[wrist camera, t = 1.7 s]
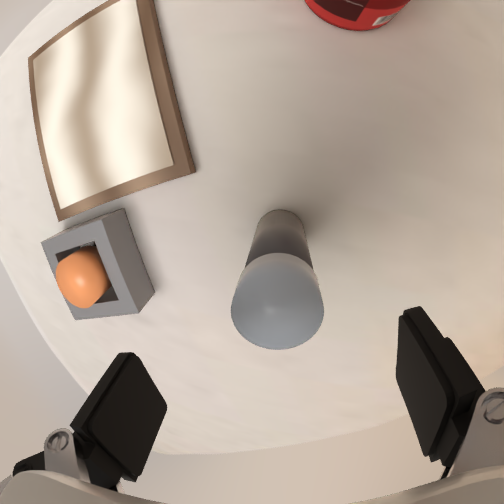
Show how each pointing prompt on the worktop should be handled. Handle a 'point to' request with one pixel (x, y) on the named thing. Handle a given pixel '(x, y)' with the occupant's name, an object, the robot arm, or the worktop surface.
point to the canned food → (356, 12)
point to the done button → (82, 277)
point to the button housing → (106, 264)
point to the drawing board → (106, 108)
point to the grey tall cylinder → (278, 286)
